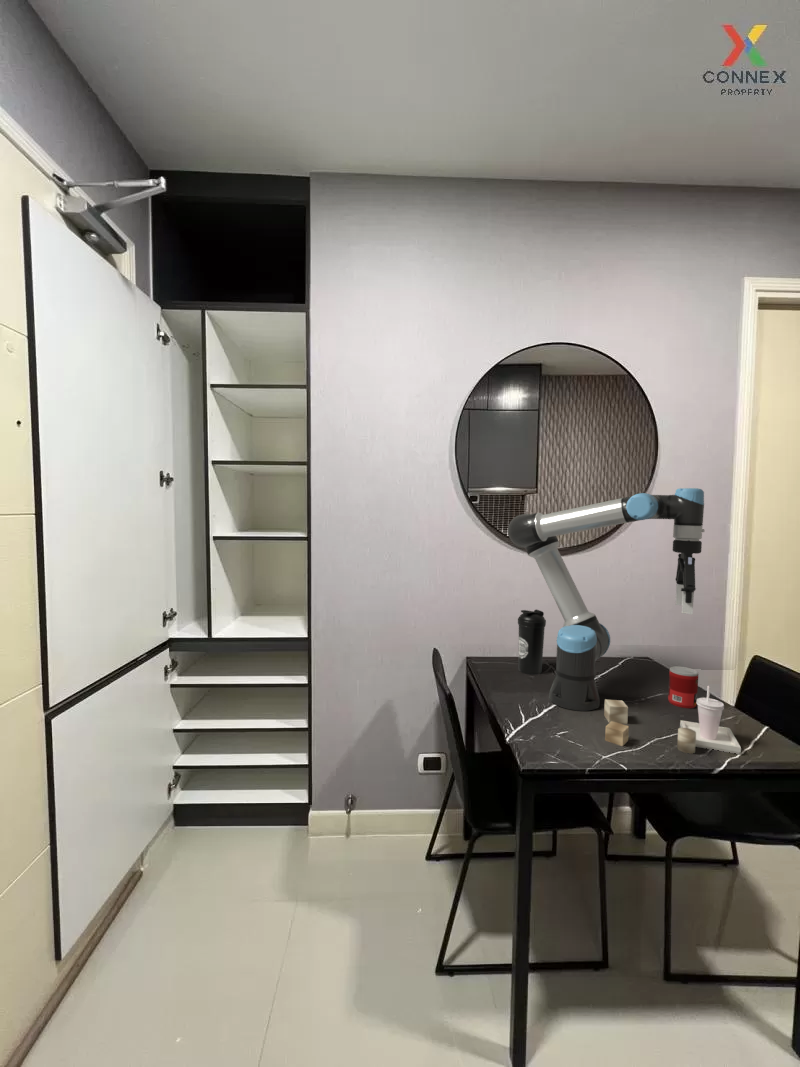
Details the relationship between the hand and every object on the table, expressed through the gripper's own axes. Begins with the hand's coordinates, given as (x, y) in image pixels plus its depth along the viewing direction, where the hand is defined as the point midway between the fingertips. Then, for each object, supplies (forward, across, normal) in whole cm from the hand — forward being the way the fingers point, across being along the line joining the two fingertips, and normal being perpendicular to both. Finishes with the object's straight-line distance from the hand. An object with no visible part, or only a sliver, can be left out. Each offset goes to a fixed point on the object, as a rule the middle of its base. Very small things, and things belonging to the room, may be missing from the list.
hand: (683, 609), depth 149 cm
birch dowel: (+32, -27, +2) cm, 42 cm away
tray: (+32, -18, -5) cm, 37 cm away
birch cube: (+32, -15, +18) cm, 39 cm away
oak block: (+32, -29, +18) cm, 47 cm away
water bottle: (+32, +18, +47) cm, 60 cm away
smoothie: (+31, -18, -5) cm, 36 cm away
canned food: (+32, +7, -2) cm, 33 cm away
